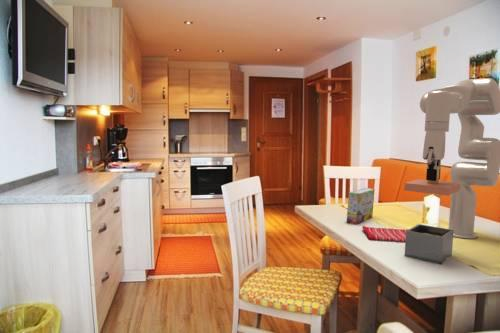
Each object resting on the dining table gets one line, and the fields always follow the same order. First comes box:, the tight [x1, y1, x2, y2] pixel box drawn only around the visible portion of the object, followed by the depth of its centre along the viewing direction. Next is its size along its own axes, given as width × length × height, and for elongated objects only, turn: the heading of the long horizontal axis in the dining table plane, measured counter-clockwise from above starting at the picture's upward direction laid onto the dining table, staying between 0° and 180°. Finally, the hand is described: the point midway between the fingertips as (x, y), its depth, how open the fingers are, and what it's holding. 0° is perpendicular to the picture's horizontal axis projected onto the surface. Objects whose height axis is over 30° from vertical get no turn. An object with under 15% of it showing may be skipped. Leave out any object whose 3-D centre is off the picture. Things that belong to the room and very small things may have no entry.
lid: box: [403, 166, 460, 196], centre depth 134 cm, size 16×14×9 cm
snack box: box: [346, 187, 375, 226], centre depth 188 cm, size 21×6×15 cm, turn 143°
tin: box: [403, 223, 454, 265], centre depth 136 cm, size 14×12×9 cm
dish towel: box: [361, 225, 410, 244], centre depth 160 cm, size 17×24×3 cm
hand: (433, 179), depth 134 cm, fingers closed on lid, 3 cm apart
